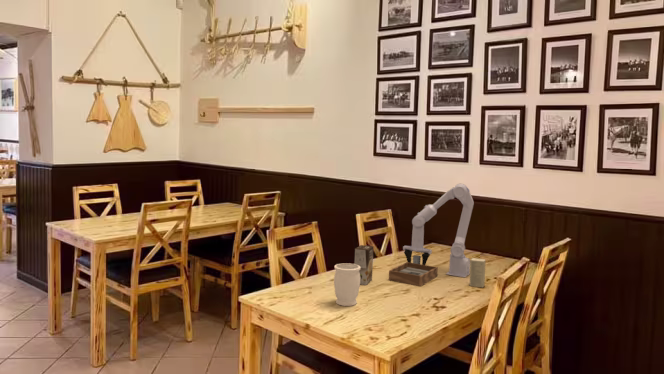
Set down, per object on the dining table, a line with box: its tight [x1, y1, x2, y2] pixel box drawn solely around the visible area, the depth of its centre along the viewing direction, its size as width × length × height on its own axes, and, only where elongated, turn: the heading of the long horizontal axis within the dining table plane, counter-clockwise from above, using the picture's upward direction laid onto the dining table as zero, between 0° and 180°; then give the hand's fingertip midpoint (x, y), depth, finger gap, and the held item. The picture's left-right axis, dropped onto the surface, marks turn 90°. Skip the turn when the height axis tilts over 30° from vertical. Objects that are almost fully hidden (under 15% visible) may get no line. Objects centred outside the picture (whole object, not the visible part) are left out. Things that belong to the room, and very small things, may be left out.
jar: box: [333, 262, 361, 307], centre depth 212 cm, size 11×10×15 cm
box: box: [388, 261, 439, 287], centre depth 251 cm, size 20×16×4 cm
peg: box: [412, 255, 422, 264], centre depth 266 cm, size 4×4×7 cm
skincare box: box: [469, 257, 486, 288], centre depth 242 cm, size 6×4×12 cm
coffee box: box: [353, 244, 374, 286], centre depth 242 cm, size 9×6×16 cm
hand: (416, 266), depth 267 cm, fingers open, 7 cm apart
